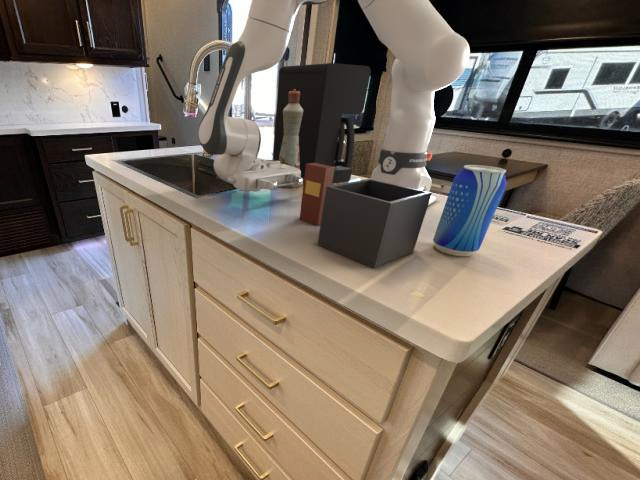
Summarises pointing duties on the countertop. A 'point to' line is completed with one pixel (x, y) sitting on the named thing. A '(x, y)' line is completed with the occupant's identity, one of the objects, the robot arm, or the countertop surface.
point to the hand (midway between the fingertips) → (288, 184)
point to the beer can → (469, 209)
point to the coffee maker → (323, 112)
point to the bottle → (291, 133)
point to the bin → (372, 220)
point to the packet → (315, 191)
